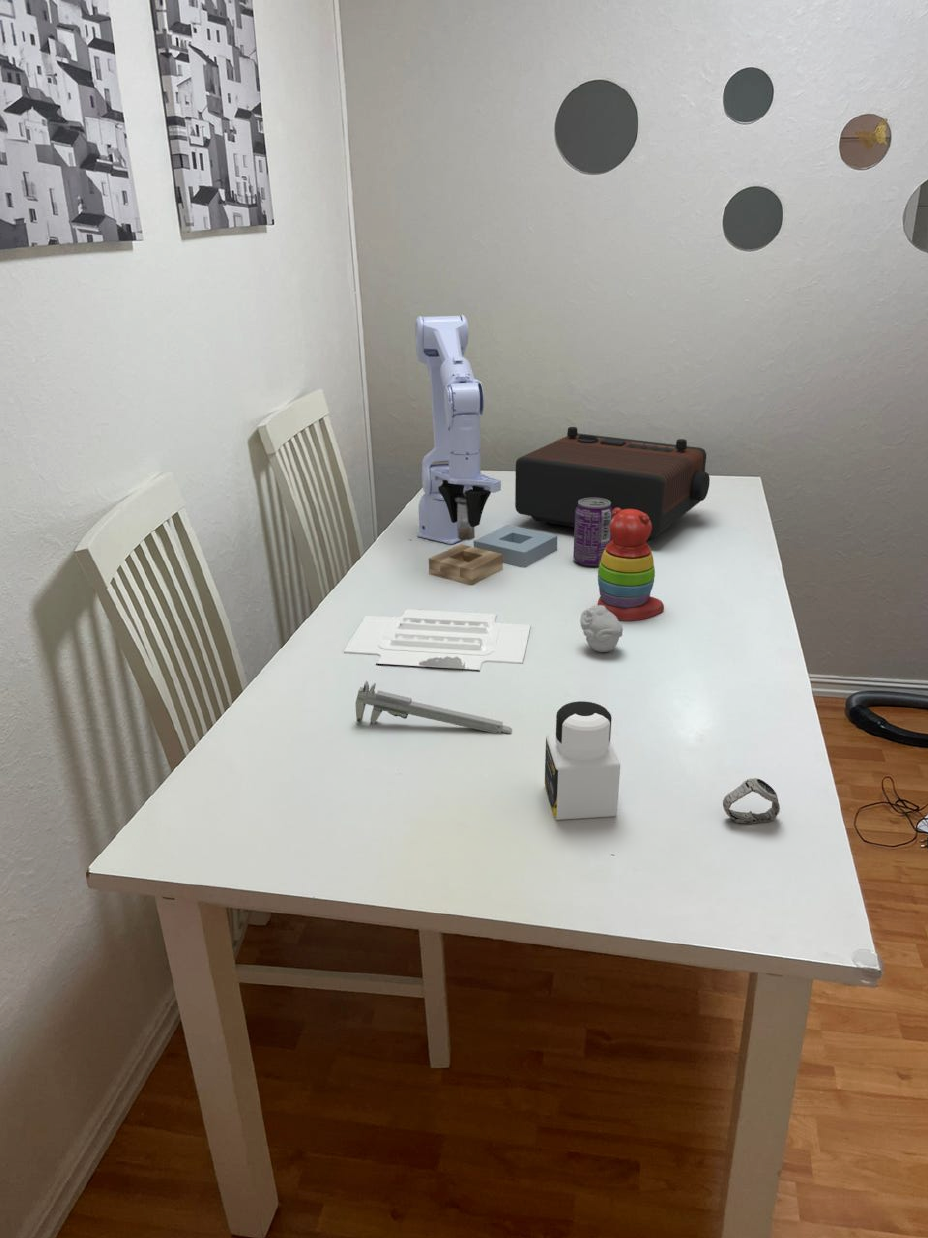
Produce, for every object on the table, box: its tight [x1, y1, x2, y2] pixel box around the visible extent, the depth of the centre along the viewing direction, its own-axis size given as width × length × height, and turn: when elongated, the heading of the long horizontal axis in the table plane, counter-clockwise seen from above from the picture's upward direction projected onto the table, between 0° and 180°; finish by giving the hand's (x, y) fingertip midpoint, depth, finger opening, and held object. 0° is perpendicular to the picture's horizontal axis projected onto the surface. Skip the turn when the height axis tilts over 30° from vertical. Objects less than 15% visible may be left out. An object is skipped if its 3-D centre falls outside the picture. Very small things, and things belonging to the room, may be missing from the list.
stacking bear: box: [596, 508, 665, 621], centre depth 149 cm, size 11×10×18 cm
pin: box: [454, 493, 476, 541], centre depth 166 cm, size 4×4×8 cm
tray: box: [343, 609, 532, 671], centre depth 143 cm, size 20×28×4 cm
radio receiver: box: [514, 426, 711, 541], centre depth 192 cm, size 35×27×18 cm
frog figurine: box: [579, 604, 624, 653], centre depth 137 cm, size 6×7×7 cm
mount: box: [428, 543, 504, 586], centre depth 169 cm, size 10×10×3 cm
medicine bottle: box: [544, 700, 621, 821], centre depth 101 cm, size 7×7×12 cm
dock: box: [473, 524, 558, 568], centre depth 179 cm, size 12×12×3 cm
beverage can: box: [572, 498, 613, 567], centre depth 171 cm, size 7×7×12 cm
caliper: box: [354, 680, 513, 735], centre depth 117 cm, size 21×1×6 cm, turn 82°
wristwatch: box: [722, 777, 781, 826], centre depth 99 cm, size 4×6×5 cm, turn 95°
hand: (465, 523), depth 166 cm, fingers closed on pin, 4 cm apart
